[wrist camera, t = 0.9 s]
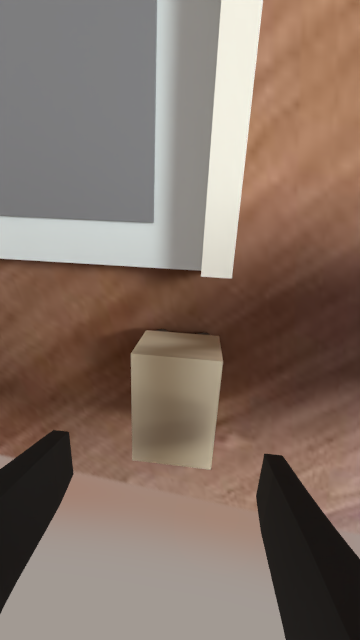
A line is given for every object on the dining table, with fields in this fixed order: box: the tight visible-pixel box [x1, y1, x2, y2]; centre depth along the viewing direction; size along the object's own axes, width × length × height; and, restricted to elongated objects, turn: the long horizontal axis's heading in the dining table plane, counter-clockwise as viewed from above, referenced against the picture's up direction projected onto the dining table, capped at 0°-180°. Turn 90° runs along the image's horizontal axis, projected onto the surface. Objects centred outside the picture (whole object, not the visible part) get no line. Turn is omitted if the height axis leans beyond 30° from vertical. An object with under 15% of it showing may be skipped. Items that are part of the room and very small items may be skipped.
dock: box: [0, 0, 263, 278], centre depth 10 cm, size 16×13×4 cm
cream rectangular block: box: [131, 329, 223, 470], centre depth 14 cm, size 4×6×4 cm, turn 177°
